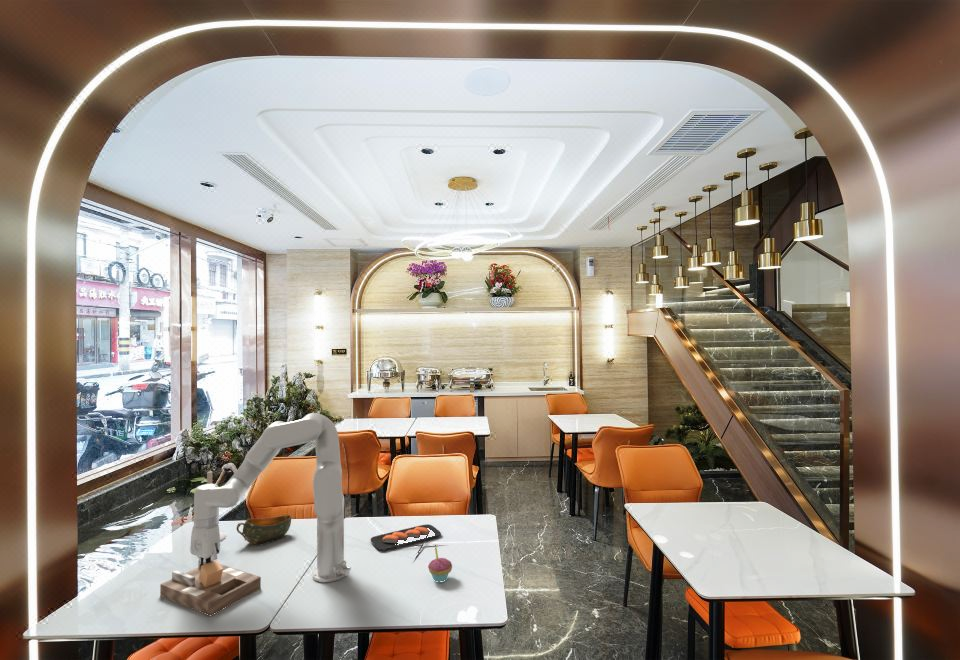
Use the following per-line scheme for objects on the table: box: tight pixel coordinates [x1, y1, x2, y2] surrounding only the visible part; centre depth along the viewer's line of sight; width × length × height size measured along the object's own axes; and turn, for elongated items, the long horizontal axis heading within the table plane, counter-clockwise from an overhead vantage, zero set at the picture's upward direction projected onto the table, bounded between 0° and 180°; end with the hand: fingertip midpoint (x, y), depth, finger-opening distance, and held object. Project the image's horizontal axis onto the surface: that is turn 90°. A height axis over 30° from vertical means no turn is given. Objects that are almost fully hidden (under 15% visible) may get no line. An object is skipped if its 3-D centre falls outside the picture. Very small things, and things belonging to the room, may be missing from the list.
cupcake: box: [427, 544, 453, 582], centre depth 165 cm, size 9×8×12 cm
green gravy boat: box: [236, 514, 292, 546], centre depth 200 cm, size 13×20×10 cm, turn 100°
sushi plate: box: [370, 523, 442, 554], centre depth 192 cm, size 29×30×4 cm
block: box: [199, 559, 223, 587], centre depth 156 cm, size 5×5×5 cm
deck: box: [159, 559, 262, 616], centre depth 158 cm, size 27×18×6 cm, turn 64°
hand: (205, 574), depth 159 cm, fingers closed
